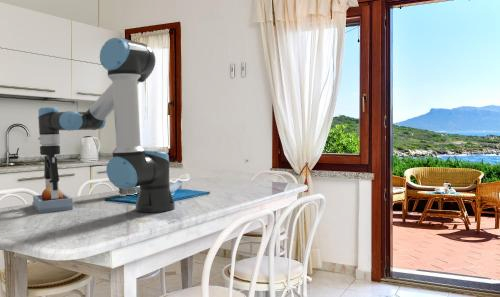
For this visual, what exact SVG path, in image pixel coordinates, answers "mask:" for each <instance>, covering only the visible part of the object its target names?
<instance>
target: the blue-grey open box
mask: <svg viewBox="0 0 500 297" xmlns="http://www.w3.org/2000/svg"><path fill="white" fill-rule="evenodd" d="M62 193H63V199H58V200H48V201H43V199H42V194H36V195H32V198H33V199H32V200H33V201H32V206H33V207H34V208H35V209H36V211H38V213H39V214H45V212H46V213H53V212H54V211H55V212H63V211H70V210H72V211H73V208H74V206H73V198H72V197H71V196H70V195H68V194H66V193H64V192H62ZM62 210H63V211H62Z"/></svg>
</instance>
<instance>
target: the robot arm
mask: <svg viewBox="0 0 500 297" xmlns="http://www.w3.org/2000/svg"><path fill="white" fill-rule="evenodd" d="M99 51H100V52H99V62H100V64H101V66H102V67H103V69H105V70H107V77H108V79H110V81H112V82H111V84H110V85H109V86H108V87H107V88H106V89H105V91H103V93H101V95H100V96H99V97H98V98H97V99H96V101H94V103H93V104H92V105H91V106H90V107H89V108H88V109H87V110H86V111H73V110H67V111H59V109H58V107H53V106H52V107H51V106H50V107H40V108H38V116H37V119H38V132H39V137H38V138H37V140H39V144H40V147H39V154H40V156H43V158H44V170H43V171H44V172H43V173H44V174H43V177H44V179H45V180H44V182H45V183H44V184H45V189H46V188H49V187H51V199H55V198H59V190H60V189H59V181H60V176H59V169H58V158H57V156H56V157H55V155H60V154H61V146H60V142H61V140H60V139H61V138H60V136H61V135H60V131H69V132H70V131H73V132H74V131H89V130H90V131H96V130H101V129H103V128H104V127H105V125H106V123H107V122H106V121H107V117H108V116H109V115H110V114H111V113H112V112H113V111H114V126H115V128H114V129H115V130H114V131H115V143H116V144H115V145H116V147H115V148H114V149H113V151H112V152H111V153H112V158H111V159H109V161H108V162H107V164H106V175H107V178H108V180H109V181H110V183H112V185H113V186H114V187H116V188H118V189H119V188H121V189H124V188H133V187H139V192H138V194H137V195H138V196H137V200H136V203H135V211H136V212H138V213H139V212H140V213H162V212H168V211H169V212H170V211H172V210H174V209H175V208H176V206H175V200H174V197H173V194H172V192H171V188H170V185H171V184H170V158H169V157H170V156H169V154H168V153H167V152H165V151H158V150H157V151H156V150H145V148H144V147H142V145H141V131H140V115H139V114H140V113H139V95H138V85H139V84H140V83H144V82H145V81H146V80H148V78H149V77H150V75H152V73H153V71H154V69H155V65H156V55H155V53H154V51H153V49H152V48H151V47H150V46H149V45H147V44H146V43H143V42H138V41H135V40H131V39H126V38H123V37H111V38H109V39H108V40H106V41H105V42H104V44H103V45H102V46H101V49H100V50H99Z"/></svg>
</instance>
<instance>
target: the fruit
mask: <svg viewBox="0 0 500 297" xmlns="http://www.w3.org/2000/svg"><path fill="white" fill-rule="evenodd" d="M63 193H64V192H63V191H61V190H60V189H59V198H55V199H51V187H49V188H46V187H45V188H44V190H43V191H42V192H41V195H42V199H43V201H48V200H58V199H63Z"/></svg>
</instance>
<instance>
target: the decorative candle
mask: <svg viewBox="0 0 500 297" xmlns="http://www.w3.org/2000/svg"><path fill="white" fill-rule="evenodd" d="M118 190H119V191H118V194H119V195H118V196H120V197H127V196H126V195H134V194H137V195H138V193H137V192H138V190H137V189H136V190H137V191H136V190H135V188H134V187H133V188H124V189H121V188H118ZM134 196H135V195H134Z"/></svg>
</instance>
